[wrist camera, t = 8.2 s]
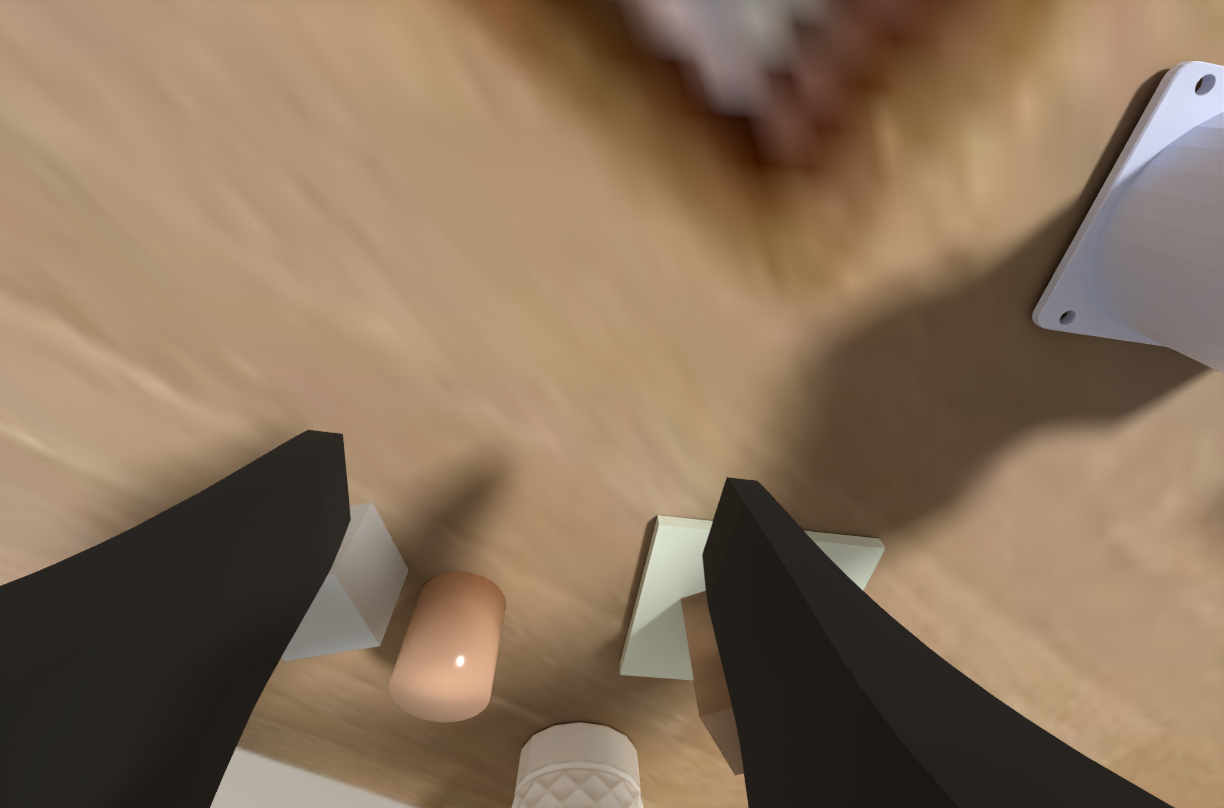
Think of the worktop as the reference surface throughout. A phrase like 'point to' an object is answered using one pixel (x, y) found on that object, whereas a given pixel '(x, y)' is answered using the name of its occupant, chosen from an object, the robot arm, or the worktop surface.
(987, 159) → the worktop surface
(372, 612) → the grey stone block
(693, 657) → the walnut block
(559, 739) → the white cup
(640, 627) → the coaster
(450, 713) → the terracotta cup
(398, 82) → the worktop surface
